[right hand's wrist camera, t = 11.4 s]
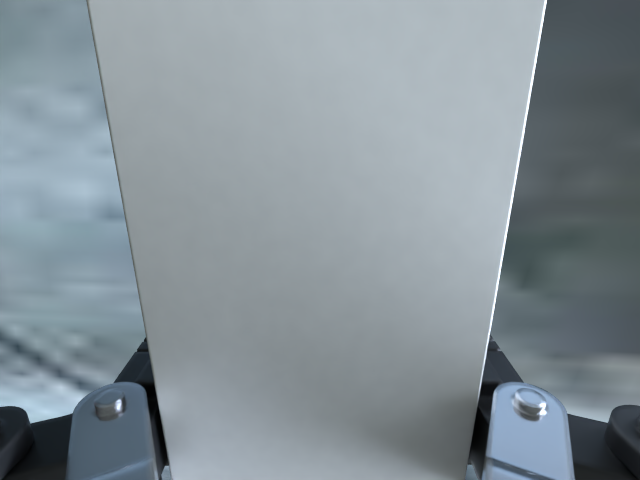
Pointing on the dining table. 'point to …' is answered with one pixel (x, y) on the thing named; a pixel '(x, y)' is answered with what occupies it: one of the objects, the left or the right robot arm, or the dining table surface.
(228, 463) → the box
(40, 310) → the dining table surface
